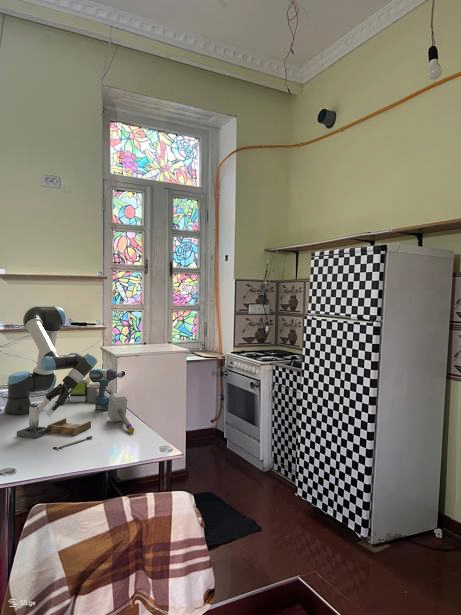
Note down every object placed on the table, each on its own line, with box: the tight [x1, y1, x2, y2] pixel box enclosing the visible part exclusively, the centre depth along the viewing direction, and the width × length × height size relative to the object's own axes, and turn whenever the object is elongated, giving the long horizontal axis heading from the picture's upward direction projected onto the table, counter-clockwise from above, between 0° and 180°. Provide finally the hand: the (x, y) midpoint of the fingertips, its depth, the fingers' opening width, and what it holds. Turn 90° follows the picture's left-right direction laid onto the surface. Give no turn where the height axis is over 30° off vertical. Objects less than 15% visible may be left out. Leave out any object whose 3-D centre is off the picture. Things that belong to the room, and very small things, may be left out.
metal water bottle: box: [28, 403, 40, 432], centre depth 217 cm, size 4×4×15 cm
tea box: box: [69, 375, 91, 403], centre depth 295 cm, size 15×10×15 cm
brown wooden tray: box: [46, 417, 92, 436], centre depth 226 cm, size 16×14×4 cm
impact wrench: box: [88, 368, 124, 411], centre depth 271 cm, size 8×23×25 cm, turn 78°
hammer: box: [107, 392, 135, 434], centre depth 234 cm, size 15×8×30 cm
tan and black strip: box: [52, 435, 93, 452], centre depth 204 cm, size 21×7×1 cm, turn 145°
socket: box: [16, 425, 50, 440], centre depth 217 cm, size 11×11×2 cm
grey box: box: [86, 383, 100, 403], centre depth 291 cm, size 13×10×10 cm
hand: (42, 412), depth 219 cm, fingers open, 13 cm apart
